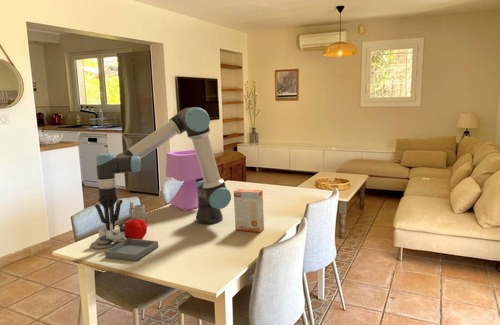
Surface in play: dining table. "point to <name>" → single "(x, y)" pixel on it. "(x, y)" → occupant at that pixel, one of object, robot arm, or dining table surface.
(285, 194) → the dining table surface
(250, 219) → the cracker box
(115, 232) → the crank
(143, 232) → the tomato
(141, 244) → the tray
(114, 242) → the crank base
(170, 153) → the pink table lamp
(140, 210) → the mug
